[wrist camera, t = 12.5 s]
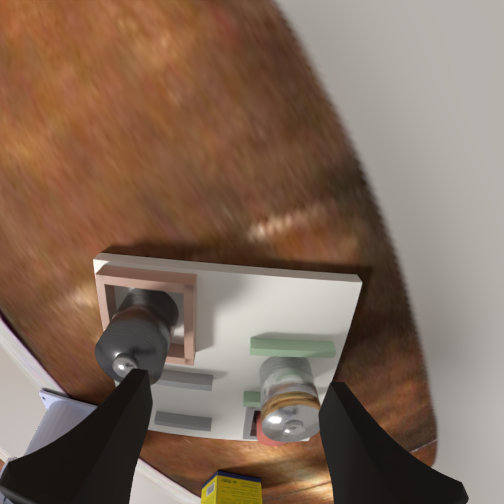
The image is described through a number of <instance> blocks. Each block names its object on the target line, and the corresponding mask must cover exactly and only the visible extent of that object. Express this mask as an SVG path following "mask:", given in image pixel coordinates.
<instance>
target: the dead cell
mask: <svg viewBox="0 0 504 504" xmlns="http://www.w3.org/2000/svg"><path fill="white" fill-rule="evenodd" d="M178 319H179V311H178V308H177V305H176V303H175V302H174V300H173V299H172V298H171V297H170V296H169V295H168V294H167V293H166V292H164V291H158V290H149V289H141V288H134V289H132V290H131V291H130V292H129V293H128V294H127V296H126V297H125V299H124V300H123V302H122V303H121V305H120V307H119V308H118V310H117V311H116V313H115V314H114V316H113V318H112V319H111V321H110V323H109V324H108V326H107V327H106V329H105V331H104V332H103V334H102V336H101V337H100V339H99V341H98V342H97V344H96V347H95V356H96V359H97V362H98V364H99V365H100V367H101V368H102V369H103V371H104V372H105V373H106V374H107V375H109V376H110V377H111V378H112V379H114V380H116V381H117V382H119V383H120V382H121V381H122V380H123V379H124V378H125V376H126V375H127V374H128V373H129V372H130V370H131V369H133V368H137V369H144V370H148V374H149V381H150V386H151V385H153V384H155V383H156V382H157V381H158V380H159V379H160V377H161V374H162V371H163V367H164V364H165V361H166V358H167V354H168V351H169V348H170V345H171V341H172V338H173V335H174V332H175V329H176V326H177V322H178Z"/></svg>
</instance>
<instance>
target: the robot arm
mask: <svg viewBox="0 0 504 504" xmlns="http://www.w3.org/2000/svg"><path fill="white" fill-rule="evenodd" d="M39 395H40V397H41V399H42V401H43V403H44V405H45V407H46V409H47V412H46V413H45V415H44V417H43V419H42V421H41V423H40V425H39V426H38V428H37V430H36V432H35V434H34V436H33V438H32V440H31V442H30V444H29V446H28V448H27V450H26V452H25V454H24V456H23V457H20V458H17V457H14V458H8V460H7V461H6V463H5V465H4V466H3V468H2V470H1V472H0V504H129V500H130V493H131V487H132V481H133V476H134V471H135V468H136V464H137V461H138V458H139V455H140V451H141V448H142V445H143V442H144V439H145V436H146V433H147V430H148V426H149V422H150V417H151V412H152V407H153V399H152V393H151V387H150V381H149V374H148V370H144V369H137V368H133V369H131V370H130V372H129V373H128V374H127V375H126V376H125V378H124V379H123V380H122V381H121V382H120V383H119V385H118V386H117V387H116V388H115V389H114V390H113V391H112V392H111V393H110V394H109V395H108V397H107V398H106V399H105V400H104V401H103V402H102V403H101V404H100V405H99V406H95V405H91V404H87V403H84V402H80V401H76V400H73V399H69V398H66V397H62V396H59V395H56V394H53V393H50V392H47V391H43V390H40V391H39ZM318 417H319V427H320V435H321V440H322V444H323V448H324V452H325V456H326V460H327V464H328V468H329V472H330V476H331V482H332V488H333V497H334V504H466V503H467V502H468V499H469V498H468V495H467V493H466V491H465V488H464V486H463V484H462V482H459V481H457V480H455V479H453V478H450V477H448V476H446V475H444V474H442V473H440V472H438V471H436V470H434V469H432V468H431V467H429V466H427V465H426V464H424V463H423V462H421V461H420V460H418V459H417V458H415V457H414V456H413V455H411V454H410V453H409V452H407V451H406V450H405V449H404V448H402V447H401V446H400V445H399V444H398V443H397V442H395V441H394V440H393V439H392V438H391V437H390V436H389V435H388V434H387V433H386V432H385V431H384V430H383V429H382V428H381V427H380V426H379V424H378V423H377V422H376V421H375V420H374V419H373V418H372V417H371V415H370V414H369V413H368V412H367V411H366V409H365V408H364V407H363V406H362V404H361V403H360V402H359V401H358V399H357V398H356V397H355V396H354V394H353V393H352V392H351V390H350V389H349V388H348V387H347V385H346V384H345V383H344V382H331V383H330V384H329V386H328V389H327V392H326V395H325V397H324V400H323V403H322V405H321V408H320V410H319V413H318Z"/></svg>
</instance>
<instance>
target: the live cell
mask: <svg viewBox="0 0 504 504" xmlns="http://www.w3.org/2000/svg"><path fill="white" fill-rule="evenodd" d="M259 381H260V400H261V425H262V431H263V433H264V435H265V436H267V437H268V438H270V439H272V440H274V441H278V442H296V441H301V440H304V439H307V438H309V437H311V436H313V435H315V434H316V433H317V432H318V431H319V430H320V427H319V417H318V413H319V410H320V408H321V405H320V402H319V398H318V394H317V389H316V385H315V381H314V377H313V373H312V369H311V365H310V362H309V361H308V360H307V359H306V358H305V357H277V356H271V357H269V358H268V359H267V360H265V361H264V362H263V364H262V365H261V367H260V369H259Z"/></svg>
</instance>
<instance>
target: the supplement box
mask: <svg viewBox="0 0 504 504" xmlns="http://www.w3.org/2000/svg"><path fill="white" fill-rule="evenodd" d="M201 504H262V491H261V478H255V477H248V476H242V475H237V474H232V473H227V472H222V471H217V472H216V473H215V474H214V475H213V476H212V477H211V478H210V479H209V480H208V481H207V482H206V483H205V484H204V485H203V486H202V496H201Z"/></svg>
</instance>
